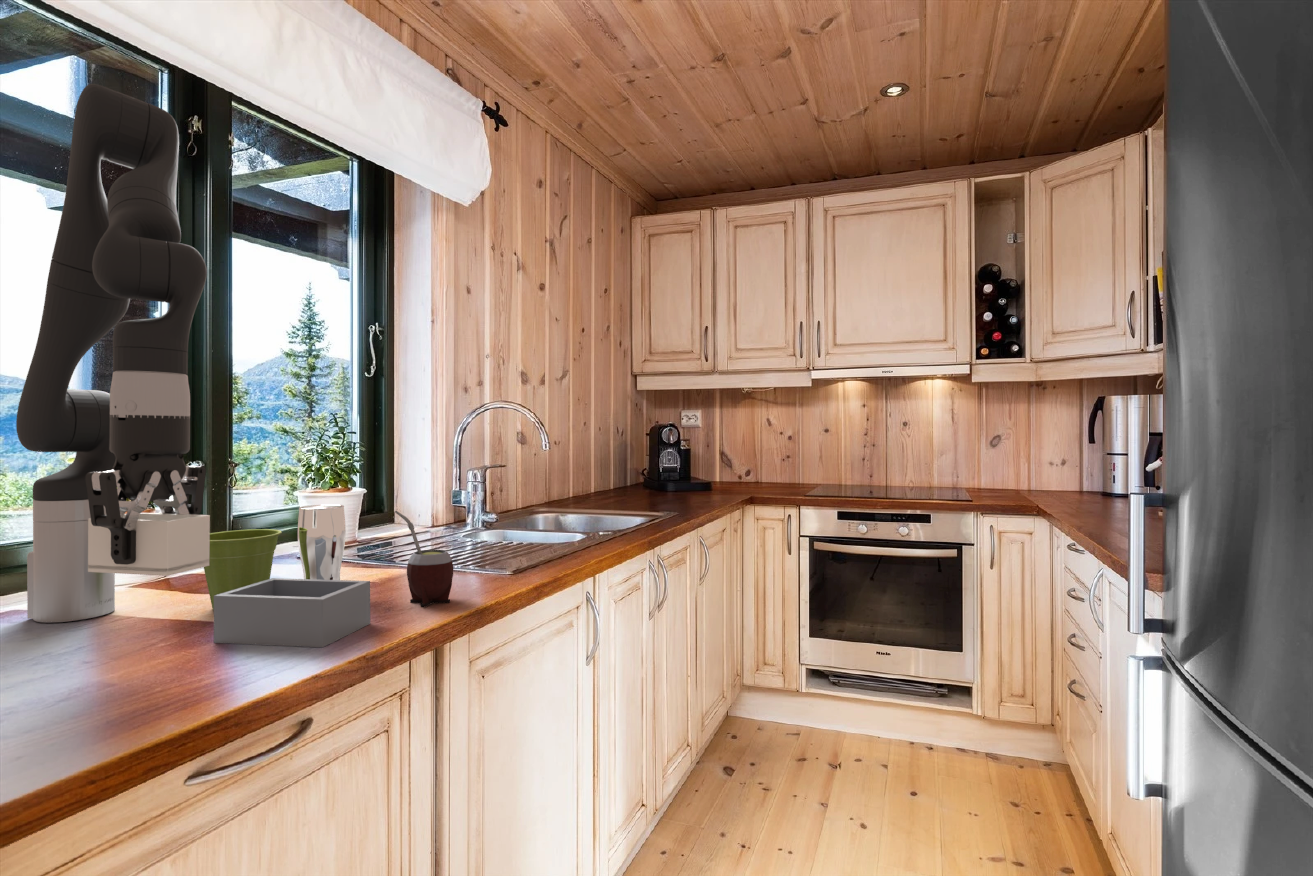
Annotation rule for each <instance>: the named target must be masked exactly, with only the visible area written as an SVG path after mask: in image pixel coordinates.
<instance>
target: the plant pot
mask: <svg viewBox="0 0 1313 876" xmlns="http://www.w3.org/2000/svg"><path fill="white" fill-rule="evenodd" d="M280 535H282V531H281V530H279V529H273V528H272V529H269V528H262V529H261V528H260V529H259V528H258V529H255V528H254V529H253V528H252V529H239V530H236V529H235V530H225V531H219V532H218V531H217V532H210V550H209V566H206V567H203V571H204V575H205V580H206V584H207V585H206V586H207V589H208V593H209V600H210V603H211V608H212V610H213V611H214V596H215V595H218V594H221V593H225V592H228V591H231V590H235V589H238V588H241V587H245V586H248V585H251V584H254V583H258V582H261V581H264V580H268V579H271V574H272V573H271V572H272V567H273V560H274V554H275V550H276V548H277V544H278V539H279V538H278V537H279V536H280Z"/></svg>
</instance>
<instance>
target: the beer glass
mask: <svg viewBox="0 0 1313 876" xmlns="http://www.w3.org/2000/svg"><path fill="white" fill-rule="evenodd" d="M298 509H299V510H298V511H299V512H298V519H297V522H298V523H297V544H298V552H299V556H300V557H299V558H300V561H301V567H302V572H303V574H302V575H303V579H317V580H341V569H342V563H343V557H344V552H345V551H344V550H345V543H346V533H347V532H346V530H347V529H346V516H345V515H346V514H345V506H344V505H343V504H312V505H304V506H300V507H299V508H298Z"/></svg>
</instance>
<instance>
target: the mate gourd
mask: <svg viewBox="0 0 1313 876" xmlns="http://www.w3.org/2000/svg"><path fill="white" fill-rule="evenodd" d="M394 513H395V514H397V515H398V516H399V517H400V518H401V519H403V520H404V522H406V523H407V527H408V529H409V531H410V534H411V537H412V538H413V542H414V545H415V549H416V551H414V552H413V553H412V554H411V556H409V558H408V560H407V565H406V576H407V577H406V578H407V583H408V588H409V592H410V595H411V598H410V600H409V601H410V604H420V608H427V607H428V606H430V605H432V604H450V603H451V599H450V598H449V597H450V593H451V589H452V586H453V577H454V563H453V558H452V556H450V554H449V552H448V550H445V549H423V550H421V547H420V544H419V541H418V538H417V534H416V531H415V526H414V523H413V522H412V521H411V520H410V519H409V518H408V517H407V516H405V515H403V514H402V513H400V512H399V511H397V510H395V511H394Z"/></svg>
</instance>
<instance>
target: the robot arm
mask: <svg viewBox="0 0 1313 876" xmlns="http://www.w3.org/2000/svg"><path fill="white" fill-rule="evenodd" d="M74 112H75V114H74V119H73V120H74V121H73V127H72V135H71V144H70V152H69V161H68V171H67V180H66V186H65V187H66V189H65V193H64V194H65V196H64V201H63V207H62V211H61V217H60V221H59V226H58V231H57V234H56V239H55V242H54V243H55V244H54V247H53V250H52V251H53V252H52V255H51V260H50V265H49V266H50V267H49V270H48V276H47V282H46V289H45V296H44V302H43V304H44V305H43V309H42V310H43V311H42V315H41V321H40V327H39V332H38V336H37V341H36V344H35V348H34V350H33V351H34V352H33V355H32V358H31V362H30V366H29V367H28V371H27V375H26V378H25V380H24V381H25V382H24V385H23V388H22V391H21V394H20V398H19V401H18V407H17V412H16V426H15V427H16V435H17V437H18V440H19V442H20V444H21V446H22V447H23V448H25V449H26V450H28V451H30V452H36V453H75V457H74V460H73V462H72V463H70V464H69V465H68V466H67V467H65V468H64V469H61V470H60V471H57V472H55V473H52V474H49V475H47V476H43V477H40V478H37V480H35V481H34V483H33V486H32V545H33V546H32V548H33V549H32V550H33V551H30V552H28V553H27V556H26V562H27V563H26V565H27V566H26V567H27V568H26V569H27V570H26V571H27V572H26V574H27V576H26V577H27V578H26V579H27V581H26V582H27V583H26V585H27V586H26V588H27V590H26V591H27V594H26V595H27V602H26V603H27V605H26V607H27V612H26V613H27V619H30V620H31V619H32V620H33V621H34V622H37V623H63V622H65V623H66V622H72V621H73V622H75V621H80V620H86V619H91V618H97V617H101V616H104V615H107V614H110V613H113V612H114V611H115V609H116V606H115V605H116V604H115V603H116V602H115V600H116V597H115V593H116V589H115V588H116V587H115V586H116V585H115V583H116V580H115V579H116V575H115V574H116V573H100V572H88V519H89V518H91V523H92V525H93V526H101V527H105V528H108V529H109V530H110V532H111V557H112V559H113V561H114V563H115V564H126V565H128V564H132V563H134V562H135V561H136V530H133V529H134V528H135V525H136V523H137V520H138V518H139V515H140V513H144V511H146V510H147V507H148V505H149V502H150V503H152V502H153V504H154V505H155V506H156V507H158V508H159V509H160V511H161V513H162V514H191V515H201V512H202V508H203V500H204V499H203V498H204V491H205V490H204V489H205V483H206V474H207V469H206V467H205V466H202V465H186V463H185V461H184V454H185V455H186V454H187V453H189V452H190V450H191V393H190V392H191V390H190V384H189V376H188V374H189V373H188V372H189V369H188V368H189V364H188V363H189V339H190V332H191V328H192V323H193V319H194V315H195V313H196V310H197V307H198V304H199V301H200V299H201V296H202V293H203V291H204V288H205V285H206V281H207V275H208V270H207V269H208V268H207V265H206V262H205V259H204V257H203V256H202V254H201V253H200V252H199V251H198V249H196V248H195V247H193V246H192V245H189V244H185V243H181V242H182V240H181V239H182V232H181V231H182V229H181V225H180V219H179V213H178V209H177V202H176V192H177V190H176V189H177V183H178V172H179V171H178V170H179V153H180V152H179V151H180V149H179V148H180V147H179V146H180V134H179V128H178V125H177V121H176V120H175V118H174V117H173V115H171V114H170V113H169V112H168V111H167V110H164V109H163V108H161V107H158V106H156V105H153V104H152V103H148V102H145V101H143V100H141V99H138V98H135V97H133V96H130V95H127V94H124V93H122V92H119V91H117V90H115V89H114V90H113V89H112V88H108V87H107V86H103V85H101V84H97V83H90V84H87V85H86V86H85V87H84V88H83V89H82V91H81V93H80V94H79V98H78V101H77V103H76V108H75V111H74ZM102 160H106V161H108V162H110V163H114V164H116V165H120V166H122V167H126V168H128V169H132V170H129V171H127V172H125V173H123V174H122V175H120V176H119V177H117V179H115V181H114V182H113V183H112V185H110V188H109V190H108V194H107V195H106V193H105V189H104V186H103V183H102V182H103V180H102V174H101V162H102ZM131 299H132V300H141V301H151V302H159V303H167V304H168V310H167V311H166V312H165V314H163V315H161V316H157V317H153V318H151V317H150V318H141V319H140V318H139V319H130V320H123V321H121V320H122V318H123V317H124V316H125V314H126V313H127V312H128V309H129V306H130V302H131ZM113 328H114V329H113ZM111 330H113V333H112V334H113V335H112V371H113V372H112V377H111V382H110V383H111V385H110V388H109V393H108V392H106V391H102V390H97V389H78V388H77V389H76V388H69V385H70V383H71V380H72V376H73V374H74V373H75V372H74V371H75V369H76V368H77V366H78V364H80V363H79V362H80V361H81V360H82V359H83V357H84V356H85V355H86V353H87V352H89V350H91V349H92V347H94V345H95V344H97V343H98V342H99V341H100V340H101V339H102V338H104V337H105V336H106V335H107V334H108V333H109V332H110V331H111ZM190 495H191V500H190V501H191V503H190V504H189V499H190V498H189V497H190ZM124 514H126V516H125V518H123V516H124Z"/></svg>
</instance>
